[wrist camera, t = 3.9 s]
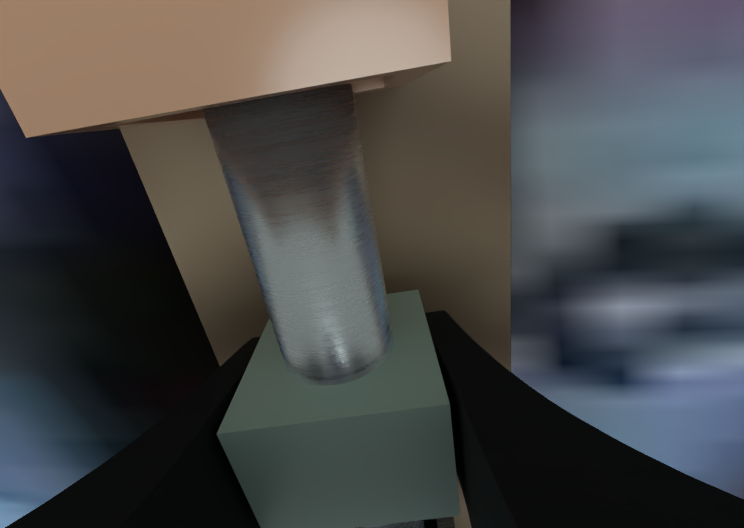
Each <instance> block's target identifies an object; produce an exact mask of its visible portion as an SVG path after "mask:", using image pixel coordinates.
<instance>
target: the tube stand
mask: <svg viewBox="0 0 744 528" xmlns="http://www.w3.org/2000/svg"><path fill="white" fill-rule="evenodd" d="M340 84H352V88H353V94H354V100H355V106H356V112H357V118H358V124H359V130H360V136H361V142H362V149H363V155H364V161H365V167H366V173H367V179H368V185H369V191H370V197H371V203H372V209H373V216H374V222H375V228H376V234H377V240H378V246H379V252H380V258H381V264H382V270H383V277H384V283H385V289H386V294H391V293H397V292H404V291H411V290H418V291H419V294H420V298H421V301H422V305H423V309H424V312H425V313H427V312H434V311H441V310H445V311H446V312H447V313H449V315H450V316H451V317H452V318H453V319H454V320H455V321H456V322H457V324H458V325H459V326H460V327H461V328H462V329H463V330H464V331H465V332H466V333H467V334H468V335H469V336H470V337H471V338H472V339H473V340H474V341H475V342H476V343H478V344H479V345H480V346H481V347H482V348H483V349H484V350H485V351H486V352H488V353H489V354H490V355H491V356H492V357H493V358H494V359H495V360H497V361H498V362H499V363H500V364H501V365H503V366H504V367H505V368H506V369H508V370H509V371H510V372H511V126H510V0H0V89H1V91H2V92H3V94H4V96H5V98H6V100H7V102H8V104H9V106H10V108H11V110H12V111H13V113H14V115H15V117H16V119H17V121H18V123H19V125H20V127H21V128H22V130H23V132H24V134H25V136H26V138H28V137H38V136H49V135H59V134H69V133H79V132H89V131H99V130H109V129H119V128H120V130H121V132H122V135H123V137H124V140H125V142H126V144H127V147H128V149H129V151H130V154H131V156H132V159H133V161H134V163H135V166H136V168H137V170H138V173H139V175H140V178H141V180H142V182H143V185H144V187H145V189H146V192H147V194H148V197H149V199H150V201H151V204H152V206H153V208H154V211H155V213H156V216H157V218H158V220H159V223H160V225H161V227H162V230H163V232H164V235H165V237H166V239H167V242H168V244H169V246H170V249H171V251H172V254H173V256H174V258H175V261H176V263H177V265H178V268H179V270H180V273H181V275H182V277H183V280H184V282H185V284H186V287H187V289H188V292H189V294H190V296H191V299H192V301H193V303H194V306H195V308H196V311H197V313H198V315H199V318H200V320H201V322H202V325H203V327H204V330H205V332H206V334H207V337H208V339H209V341H210V344H211V346H212V349H213V351H214V353H215V356H216V358H217V360H218V363H219V365H220V366H221V365H222V364H224V363H225V362H226V361H227V360H228V359H229V358H230V357H231V356H232V355H233V354H234V353H235V352H236V351H237V350H239V349H240V348H241V347H242V346H243V345H244V344H245V343H246V342H248V341H249V340H250V339H251V338H254V337H261V335H262V333H263V331H264V329H265V327H266V324H267V322H268V320H269V318H270V317H269V314H268V311H267V308H266V304H265V301H264V298H263V295H262V292H261V289H260V286H259V283H258V280H257V277H256V274H255V271H254V268H253V265H252V262H251V259H250V255H249V252H248V249H247V246H246V243H245V240H244V237H243V234H242V231H241V228H240V225H239V222H238V219H237V216H236V213H235V209H234V206H233V203H232V200H231V197H230V194H229V191H228V188H227V185H226V182H225V179H224V176H223V173H222V170H221V167H220V164H219V160H218V157H217V154H216V151H215V148H214V145H213V142H212V139H211V136H210V133H209V130H208V127H207V124H206V121H205V118H204V115H203V111H202V109H205V108H211V107H216V106H222V105H227V104H233V103H238V102H244V101H250V100H255V99H261V98H266V97H272V96H277V95H283V94H289V93H294V92H300V91H305V90H311V89H316V88H322V87H328V86H333V85H340ZM456 474H457V473H456ZM457 485H458V495H459V506H460V516H453V517H444V518H435V519H427V520H424V526H425V528H472V527H471V523H470V519H469V514H468V510H467V507H466V503H465V499H464V496H463V492H462V489H461V486H460V483H459V479H458V476H457Z"/></svg>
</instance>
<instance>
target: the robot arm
mask: <svg viewBox="0 0 744 528" xmlns="http://www.w3.org/2000/svg"><path fill="white" fill-rule="evenodd" d="M425 316H426V320H427V323H428V327H429V330H430V334H431V338H432V341H433V345H434V348H435V352H436V356H437V359H438V363H439V367H440V370H441V374H442V377H443V381H444V385H445V388H446V392H447V396H448V399H449V403H450V411H451V422H452V432H453V443H454V453H455V464H456V473H457V476H458V479H459V483H460V486H461V489H462V492H463V496H464V499H465V503H466V507H467V510H468V514H469V519H470V523H471V527H472V528H744V500H743V499H741V498H739V497H736V496H734V495H732V494H730V493H727V492H725V491H723V490H720V489H718V488H716V487H713V486H711V485H709V484H707V483H704V482H702V481H700V480H697V479H695V478H693V477H690V476H688V475H686V474H684V473H682V472H680V471H678V470H676V469H674V468H672V467H670V466H668V465H666V464H663V463H661V462H659V461H657V460H655V459H653V458H651V457H649V456H647V455H645V454H643V453H641V452H639V451H637V450H635V449H633V448H631V447H629V446H627V445H626V444H624V443H622V442H620V441H618V440H616V439H614V438H612V437H611V436H609V435H607V434H605V433H603V432H602V431H600V430H598V429H596V428H595V427H593V426H591V425H589V424H588V423H586V422H584V421H582V420H581V419H579V418H577V417H575V416H574V415H572V414H570V413H569V412H567V411H566V410H564V409H562V408H561V407H559V406H557V405H556V404H554V403H553V402H551V401H550V400H548V399H547V398H545V397H544V396H543V395H541V394H540V393H538V392H537V391H535V390H534V389H532V388H531V387H530V386H528V385H527V384H526V383H524V382H523V381H522V380H520V379H519V378H518V377H516V376H515V375H514V374H513V373H511V372H510V371H509V370H508V369H506V368H505V367H504V366H503V365H501V364H500V363H499V362H498V361H497V360H495V359H494V358H493V357H492V356H491V355H490V354H489V353H488V352H486V351H485V350H484V349H483V348H482V347H481V346H480V345H479V344H478V343H476V342H475V341H474V340H473V339H472V338H471V337H470V336H469V335H468V334H467V333H466V332H465V331H464V330H463V329H462V328H461V327H460V326H459V325H458V324H457V322H456V321H455V320H454V319H453V318H452V317H451V316H450V315H449V313H447V312H446V311H445V310H441V311H434V312H427V313H425ZM260 338H261V337H254V338H251V339H250V340H249V341H248V342H246V343H245V344H244V345H243V346H242V347H241V348H240V349H239V350H237V351H236V352H235V353H234V354H233V355H232V356H231V357H230V358H229V359H228V360H227V361H226V362H225V363H224V364H222V365H221V366H220V367H219V368H218V369H217V370H216V371H215V372H214V373H213V374H212V375H211V376H210V377H208V378H207V379H206V380H205V381H204V382H203V383H202V384H201V385H200V386H199V387H198V388H197V389H195V390H194V391H193V392H192V393H191V394H190V395H189V396H187V397H186V398H185V399H184V400H183V401H182V402H181V403H179V404H178V405H177V406H176V407H175V408H174V409H172V410H171V411H170V412H169V413H168V414H167V415H165V416H164V417H163V418H162V419H161V420H160V421H158V422H157V423H156V424H155V425H154V426H152V427H151V428H150V429H149V430H147V431H146V432H145V433H143V434H142V435H141V436H140V437H138V438H137V439H136V440H134V441H133V442H132V443H130V444H129V445H128V446H126V447H125V448H124V449H122V450H121V451H120V452H118V453H117V454H116V455H114V456H113V457H112V458H110V459H109V460H108V461H106V462H105V463H103V464H102V465H101V466H99V467H98V468H96V469H95V470H93V471H92V472H90V473H89V474H87V475H86V476H84V477H83V478H81V479H80V480H78V481H77V482H75V483H74V484H72V485H71V486H69V487H68V488H67V489H65V490H64V491H62V492H61V493H59V494H58V495H56V496H55V497H53V498H52V499H50V500H49V501H47V502H46V503H44V504H42V505H41V506H39V507H38V508H36V509H35V510H33V511H31V512H30V513H28V514H26V515H25V516H23V517H22V518H20V519H18V520H17V521H15V522H14V523H12V524H10V525H9V526H7V527H5V528H261V527H260V525H259V523H258V521H257V519H256V517H255V515H254V512H253V510H252V508H251V506H250V504H249V502H248V500H247V498H246V496H245V493H244V491H243V489H242V487H241V485H240V483H239V481H238V479H237V476H236V474H235V472H234V470H233V468H232V466H231V464H230V462H229V460H228V457H227V455H226V453H225V451H224V449H223V447H222V445H221V443H220V441H219V438H218V436H217V432H218V430H219V427H220V425H221V423H222V421H223V419H224V416H225V414H226V412H227V410H228V408H229V406H230V403H231V401H232V399H233V397H234V395H235V392H236V390H237V388H238V386H239V384H240V381H241V379H242V377H243V375H244V373H245V370H246V368H247V366H248V364H249V362H250V359H251V357H252V355H253V353H254V351H255V349H256V346H257V344H258V342H259V340H260Z"/></svg>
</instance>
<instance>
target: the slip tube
mask: <svg viewBox="0 0 744 528" xmlns="http://www.w3.org/2000/svg"><path fill="white" fill-rule="evenodd" d="M202 111H203V115H204V118H205V121H206V124H207V127H208V130H209V133H210V136H211V139H212V142H213V145H214V148H215V151H216V154H217V157H218V160H219V164H220V167H221V170H222V173H223V176H224V179H225V182H226V185H227V188H228V191H229V194H230V197H231V200H232V203H233V206H234V209H235V213H236V216H237V219H238V222H239V225H240V228H241V231H242V234H243V237H244V240H245V243H246V246H247V249H248V252H249V255H250V259H251V262H252V265H253V268H254V271H255V274H256V277H257V280H258V283H259V286H260V289H261V292H262V295H263V298H264V301H265V304H266V308H267V311H268V314H269V317H270V318H269V320H268V322H267V324H266V327H265V329H264V331H263V333H262V335H261V338H260V340H259V342H258V344H257V346H256V349H255V351H254V353H253V355H252V357H251V359H250V362H249V364H248V366H247V368H246V370H245V373H244V375H243V377H242V379H241V381H240V384H239V386H238V388H237V390H236V392H235V395H234V397H233V399H232V401H231V403H230V406H229V408H228V410H227V412H226V414H225V416H224V419H223V421H222V423H221V425H220V427H219V430H218V432H217V436H218V438H219V441H220V443H221V445H222V447H223V449H224V451H225V453H226V455H227V457H228V460H229V462H230V464H231V466H232V468H233V470H234V472H235V474H236V476H237V479H238V481H239V483H240V485H241V487H242V489H243V491H244V493H245V496H246V498H247V500H248V502H249V504H250V506H251V508H252V510H253V512H254V515H255V517H256V519H257V521H258V523H259V525H260V527H261V528H425V526H424V520H427V519H435V518H444V517H453V516H460V506H459V495H458V485H457V474H456V464H455V453H454V443H453V432H452V422H451V411H450V403H449V399H448V396H447V392H446V388H445V385H444V381H443V377H442V374H441V370H440V367H439V363H438V359H437V356H436V352H435V348H434V345H433V341H432V338H431V334H430V330H429V327H428V323H427V320H426V316H425V312H424V309H423V305H422V301H421V298H420V294H419V291H418V290H411V291H404V292H397V293H391V294H386V289H385V283H384V277H383V270H382V264H381V258H380V252H379V246H378V240H377V234H376V228H375V222H374V216H373V209H372V203H371V197H370V191H369V185H368V179H367V173H366V167H365V161H364V155H363V149H362V142H361V136H360V130H359V124H358V118H357V112H356V106H355V100H354V94H353V88H352V84H340V85H333V86H328V87H322V88H316V89H311V90H305V91H300V92H294V93H289V94H283V95H277V96H272V97H266V98H261V99H255V100H250V101H244V102H238V103H233V104H227V105H222V106H216V107H211V108H205V109H202Z"/></svg>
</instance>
